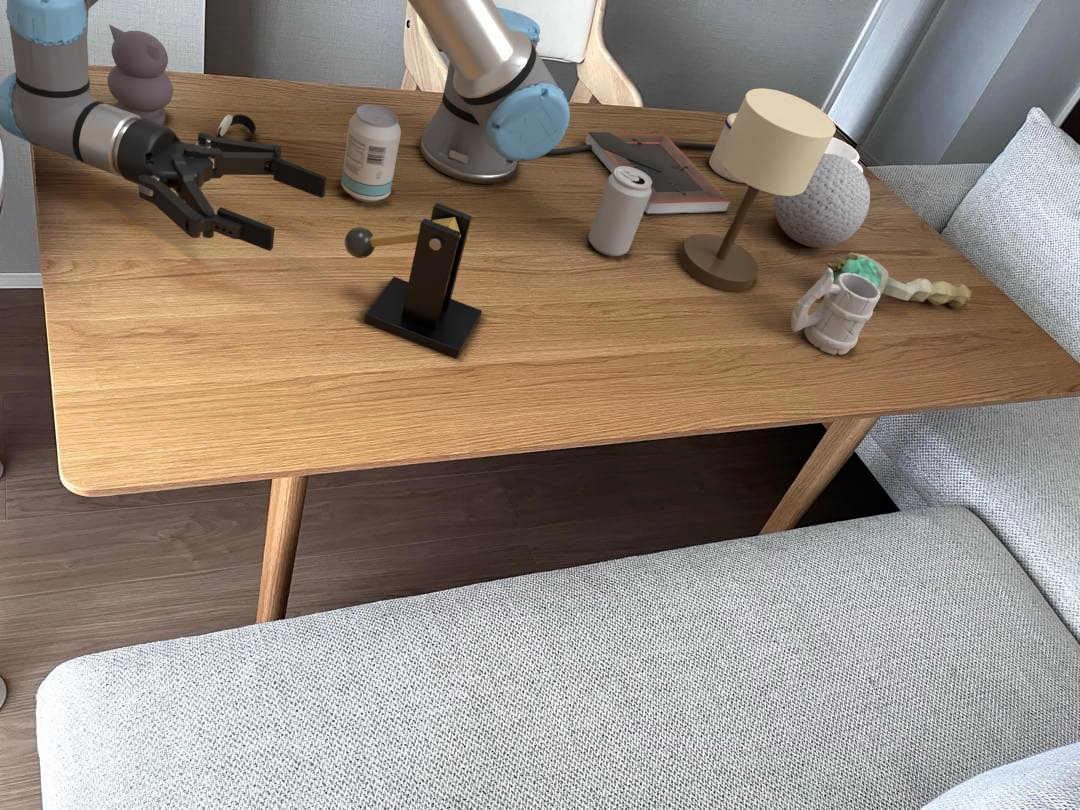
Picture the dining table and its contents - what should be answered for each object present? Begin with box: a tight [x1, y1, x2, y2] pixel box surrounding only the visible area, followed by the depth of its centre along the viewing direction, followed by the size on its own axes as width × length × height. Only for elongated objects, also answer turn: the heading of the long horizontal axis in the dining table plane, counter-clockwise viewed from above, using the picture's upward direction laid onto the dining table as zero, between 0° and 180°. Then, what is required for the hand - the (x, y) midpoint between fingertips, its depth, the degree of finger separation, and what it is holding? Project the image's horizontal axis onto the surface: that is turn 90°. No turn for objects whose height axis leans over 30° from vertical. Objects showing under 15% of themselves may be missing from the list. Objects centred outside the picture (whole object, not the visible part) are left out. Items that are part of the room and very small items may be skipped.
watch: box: [216, 113, 257, 142], centre depth 129 cm, size 8×5×4 cm, turn 169°
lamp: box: [679, 87, 837, 293], centre depth 132 cm, size 13×13×26 cm
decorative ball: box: [773, 154, 871, 248], centre depth 150 cm, size 15×15×15 cm
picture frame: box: [584, 131, 731, 215], centre depth 156 cm, size 16×2×22 cm
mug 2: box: [790, 267, 881, 356], centre depth 129 cm, size 8×12×12 cm, turn 102°
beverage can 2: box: [588, 166, 652, 257], centre depth 132 cm, size 6×6×12 cm
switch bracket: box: [363, 202, 483, 359], centre depth 107 cm, size 12×9×15 cm
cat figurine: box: [106, 24, 174, 125], centre depth 124 cm, size 8×8×12 cm
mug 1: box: [824, 136, 864, 174], centre depth 164 cm, size 11×9×10 cm
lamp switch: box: [344, 217, 461, 259], centre depth 106 cm, size 14×4×4 cm
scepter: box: [826, 252, 973, 308], centre depth 146 cm, size 9×8×30 cm
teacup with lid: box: [708, 112, 745, 184], centre depth 164 cm, size 12×9×12 cm
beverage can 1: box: [340, 104, 402, 203], centre depth 125 cm, size 7×7×12 cm
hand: (300, 212), depth 107 cm, fingers open, 13 cm apart
